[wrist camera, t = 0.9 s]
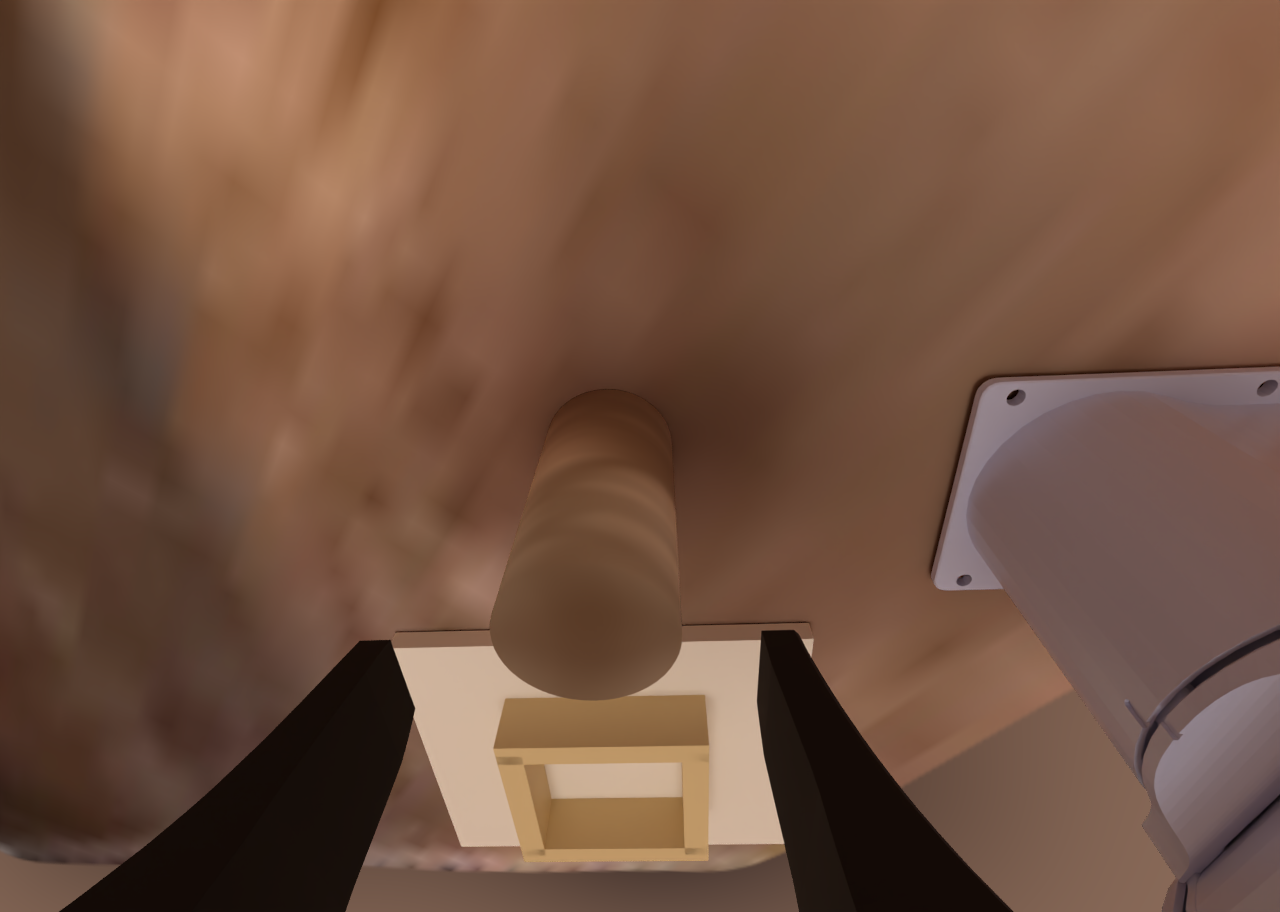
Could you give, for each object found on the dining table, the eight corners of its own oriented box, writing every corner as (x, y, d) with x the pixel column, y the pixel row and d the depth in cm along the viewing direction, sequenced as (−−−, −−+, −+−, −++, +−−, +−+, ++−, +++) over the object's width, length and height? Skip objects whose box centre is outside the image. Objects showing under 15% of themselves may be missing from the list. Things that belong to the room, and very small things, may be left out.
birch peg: (670, 386, 19) (680, 560, 12) (673, 496, 21) (683, 699, 14) (539, 391, 19) (473, 566, 12) (554, 500, 21) (506, 702, 14)
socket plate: (808, 623, 23) (828, 688, 21) (784, 826, 31) (796, 894, 28) (395, 632, 24) (364, 697, 22) (465, 830, 31) (448, 896, 29)
